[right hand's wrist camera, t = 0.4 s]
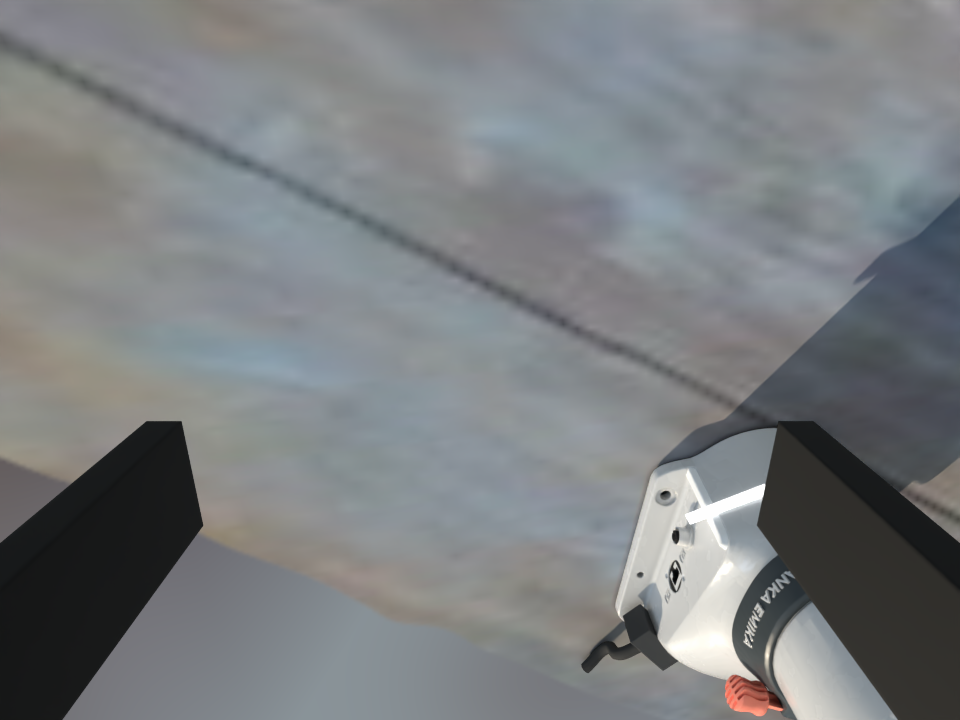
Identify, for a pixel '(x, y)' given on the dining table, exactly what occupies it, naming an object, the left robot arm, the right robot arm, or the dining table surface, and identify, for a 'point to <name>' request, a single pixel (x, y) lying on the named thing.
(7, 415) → the dining table surface
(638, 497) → the dining table surface
